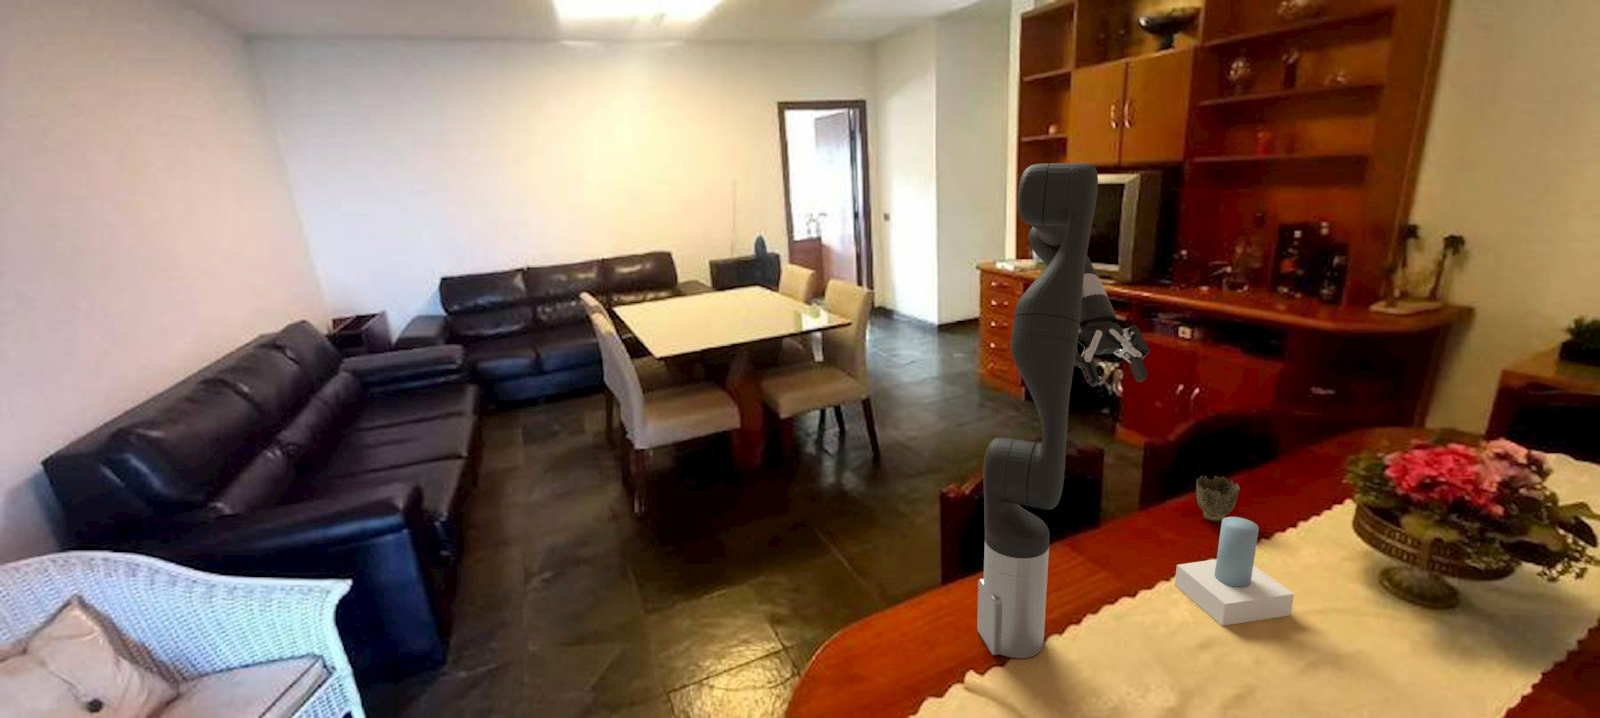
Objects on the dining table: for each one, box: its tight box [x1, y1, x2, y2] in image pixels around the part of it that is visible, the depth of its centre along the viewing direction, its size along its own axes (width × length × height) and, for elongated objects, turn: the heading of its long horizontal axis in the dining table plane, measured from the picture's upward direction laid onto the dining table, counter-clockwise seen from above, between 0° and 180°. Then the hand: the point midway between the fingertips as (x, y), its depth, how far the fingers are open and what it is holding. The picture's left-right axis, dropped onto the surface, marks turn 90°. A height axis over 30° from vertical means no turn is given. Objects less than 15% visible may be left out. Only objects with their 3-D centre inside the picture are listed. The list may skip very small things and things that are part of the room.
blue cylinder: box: [1215, 516, 1260, 588], centre depth 108 cm, size 5×5×10 cm
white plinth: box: [1174, 558, 1295, 627], centre depth 110 cm, size 12×11×4 cm
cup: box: [1195, 475, 1241, 523], centre depth 134 cm, size 8×7×8 cm
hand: (1119, 382), depth 114 cm, fingers open, 8 cm apart
